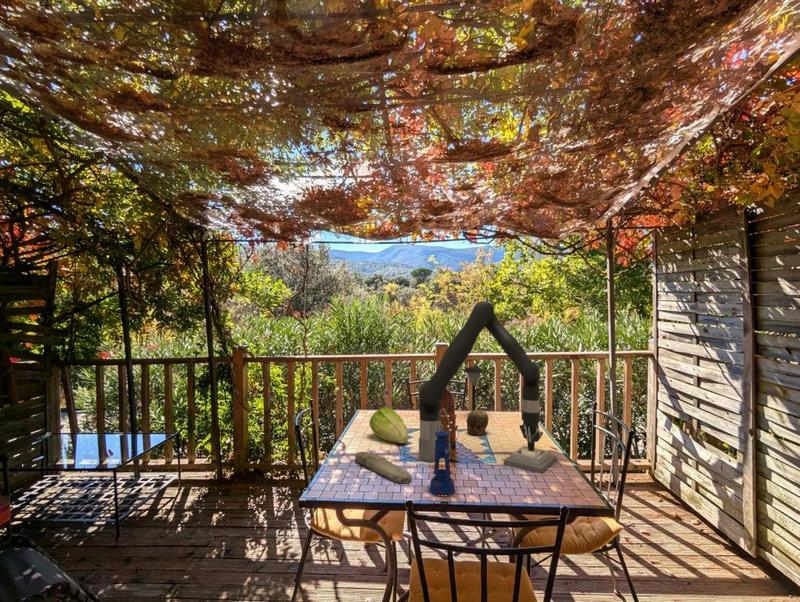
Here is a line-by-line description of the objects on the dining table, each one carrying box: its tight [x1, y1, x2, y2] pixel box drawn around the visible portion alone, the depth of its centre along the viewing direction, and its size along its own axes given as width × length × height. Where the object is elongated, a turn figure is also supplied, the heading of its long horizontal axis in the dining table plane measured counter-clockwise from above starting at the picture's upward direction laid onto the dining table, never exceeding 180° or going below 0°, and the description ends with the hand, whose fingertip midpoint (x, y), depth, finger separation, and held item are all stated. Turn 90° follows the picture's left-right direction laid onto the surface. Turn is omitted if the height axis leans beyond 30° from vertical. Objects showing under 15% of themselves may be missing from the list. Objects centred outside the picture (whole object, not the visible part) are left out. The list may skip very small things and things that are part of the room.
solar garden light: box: [462, 366, 485, 411], centre depth 256 cm, size 12×12×30 cm
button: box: [521, 446, 541, 458], centre depth 193 cm, size 8×8×3 cm
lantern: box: [428, 408, 456, 497], centre depth 165 cm, size 11×9×30 cm
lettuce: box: [369, 406, 409, 444], centre depth 224 cm, size 15×24×16 cm
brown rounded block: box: [466, 409, 489, 437], centre depth 233 cm, size 11×11×12 cm
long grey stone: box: [354, 451, 413, 485], centre depth 186 cm, size 35×5×10 cm
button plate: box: [503, 445, 558, 474], centre depth 193 cm, size 18×16×4 cm
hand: (531, 450), depth 193 cm, fingers closed
